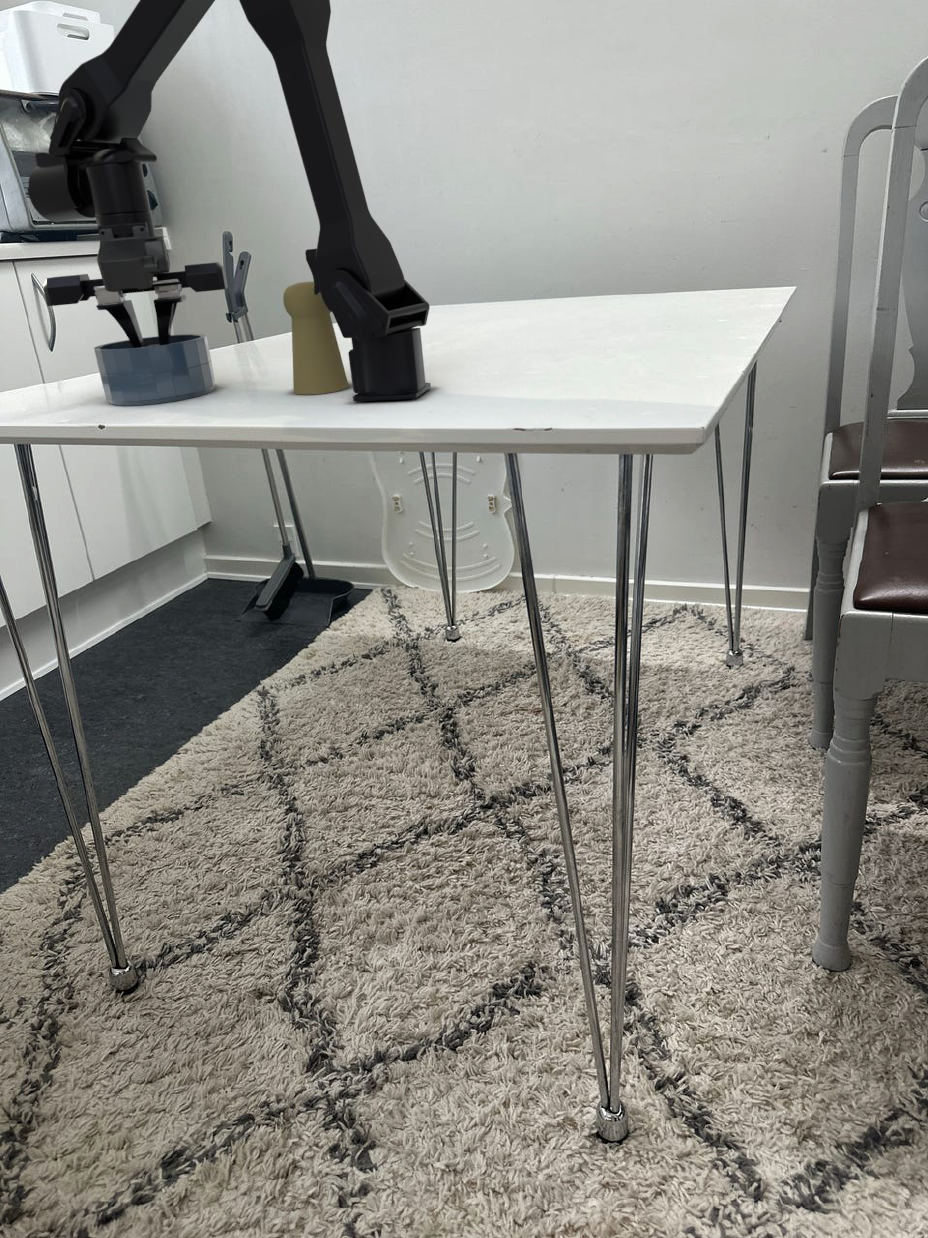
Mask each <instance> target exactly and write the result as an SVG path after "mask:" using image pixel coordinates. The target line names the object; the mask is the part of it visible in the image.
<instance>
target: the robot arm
mask: <svg viewBox="0 0 928 1238" xmlns="http://www.w3.org/2000/svg"><path fill="white" fill-rule="evenodd" d="M238 1H239V4H240V6H241V8H242V12H243V13H244V16H245V18H246V21H247V22H248V24H249V25H250V26H251V28H252V29H253V30H254V32H255V34H256V35H257V36H258V37H259V39H260V40H261V42H262V43H263V45H264V46H265V47H266V49H267V51H268V52H269V53H270V55H271V57H272V59H273V62H274V65H275V68H276V71H277V75H278V79H279V82H280V86H281V89H282V93H283V96H284V100H285V104H286V107H287V111H288V115H289V119H290V121H291V125H292V129H293V133H294V137H295V140H296V143H297V147H298V150H299V154H300V157H301V162H302V165H303V169H304V172H305V176H306V179H307V183H308V187H309V190H310V193H311V198H312V201H313V205H314V208H315V211H316V215H317V219H318V223H319V225H318V226H319V231H318V237H317V238H318V239H317V245H316V248H309V249H306V250H305V261H306V263H307V265H308V267H309V270H310V272H311V274H312V279H313V282H314V294H315V295H319V294H321V298H322V300H323V302H324V305H325V306H326V308H327V309H328V310H329V311H330V313H332V315H333V317H334V319H335V322H336V324H337V327H338V329H339V331H340V334H341V336H342V337H343V339H351V347H352V348H351V349H350V350H349V351H348V352H347V353H348V354H347V355H348V361H349V369H350V377H351V385H352V392H353V393H354V394H355V395H353V396H352V401H353V402H372V401H373V402H374V401H394V400H395V401H396V400H414V399H417V398H418V397H420V396H421V395H422V394H424V393H425V392H427V391H428V390H430V388H432V387H431V386H432V384H431V382H426V375H425V373H426V371H425V364H424V363H425V361H424V353H423V343H422V342H423V341H422V332H421V327H425V326H426V325H427V323H428V322H427V321H428V316H429V314H430V313H429V312H430V308H431V307H430V303H429V302H428V301H427V300H426V299H425V298H424V297H423V296H422V295H421V294H420V293H419V292H418V291H417V290H416V289H415V288H414V287H413V286H412V285H411V284H410V283H409V282H408V281H407V280H406V279H405V275H404V273H403V270H402V267H401V265H400V262H399V260H398V258H397V255H396V253H395V250H394V248H393V245H392V244H391V241H390V240H389V238H388V237H387V236H386V234H385V233H384V231H383V230H382V229H381V227H380V226H379V225H378V223H377V222H376V220H375V218H374V217H373V216H372V214H371V212H370V209H369V206H368V202H367V199H366V195H365V194H366V193H365V191H364V188H363V182H362V179H361V175H360V171H359V167H358V164H357V161H356V155H355V152H354V149H353V144H352V141H351V137H350V134H349V130H348V126H347V122H346V118H345V115H344V110H343V106H342V103H341V99H340V95H339V92H338V86H337V83H336V79H335V77H334V72H333V68H332V64H331V60H330V57H329V52H328V46H327V41H328V34H329V28H330V20H331V15H332V14H331V13H332V8H331V0H238ZM215 2H216V0H139V1H138V2H137V4H136V5H135V7H134V8H133V10H132V11H131V12H130V15H129V16H128V18H127V19H126V21H125V22H124V24H123V25H122V26H121V28H120V30H119V31H118V33H117V34H116V36H115V37H114V39H113V41H112V42H111V44H110V45H109V46H108V47H107V48H106V49H105V50H104V51H103V52H102V53H101V54H98V55H96V56H94V57H93V58H90V59H89V60H86V61H84V62H83V63H80V65H79V66H78V67H77V68H76V69H75V70H74V71H73V72H71V74H70V75H68V76H67V77H66V79H65V80H64V81H63V82H62V83H61V86H60V89H59V91H58V96H57V100H58V104H57V109H56V114H55V119H54V123H53V128H52V131H51V134H50V137H49V139H50V142H49V147H48V152H37V153H35V154H34V158H35V162H36V166H35V167H34V168H33V169H32V170H31V172H30V174H29V177H28V186H27V194H28V197H29V200H30V202H31V205H32V206H33V208H34V209H35V210H36V212H37V213H38V214H39V216H41V217H42V218H44V219H46V220H47V221H48V222H54V223H60V222H69V221H76V220H85V219H94V218H95V221H96V224H97V225H96V226H97V230H98V236H99V248H98V252H97V257H96V262H97V266H98V269H99V272H100V273H99V274H100V276H101V278H94V279H91V278H90V275H89V274H88V273H83V274H73V275H62V276H53V277H47V278H46V279H45V280H44V282H43V293H44V297H45V302H46V304H47V307H56V306H65V305H76V304H77V305H78V304H79V303H80V302H86V301H89V299H90V298H93V297H94V298H95V300H96V302H97V305H96V306H95V308H96V309H97V310H98V311H107V312H108V313H109V314H110V315H111V317H112V318H113V319H114V320H115V321H116V323H117V324H118V325H119V326H120V328H121V329H122V330H123V332H124V333H125V335H126V337H127V340H130V342H131V344H132V346H133V347H134V348H138V347H145V344H144V341H143V338H144V337H143V335H142V331H141V328H140V325H139V321H138V318H137V315H136V312H135V309H134V304H133V301H132V299H128V300H127V299H126V296H127V294H136V293H146V292H154V293H155V294H156V295H157V298H155V299H153V300H152V302H153V306H154V311H155V315H156V326H157V336H158V337H159V345H165V344H170V336H171V335H172V327H173V322H174V319H175V315H176V310H177V305H178V304H179V303H183V302H184V301H186V300H187V295H186V294H184V291H185V289H186V288H190V289H192V291H194V292H195V293H202V292H213V291H222V290H227V289H228V288H229V284H228V280H227V273H226V269H225V266H224V265H223V264H221V263H220V262H219V261H213V262H203V263H192V264H185V265H184V270H180V271H171V270H170V268H171V263H170V257H169V256H170V255H169V252H168V249H167V245H166V241H165V238H164V236H163V235H159V236H157V235H156V229H155V223H154V219H153V214H152V210H151V209H152V208H151V206H150V200H149V195H148V191H147V185H146V180H145V176H144V171H143V166H142V165H146V164H147V165H148V164H153V163H157V161H158V157H157V154H155V153H154V152H152V150H150V149H149V148H147V147H146V146H144V144H142V142H141V141H140V140H139V136H140V135H141V133H142V131H143V129H144V127H145V124H146V123H147V121H148V118H149V117H150V114H151V112H152V107H153V104H152V103H153V95H152V94H153V90H154V89H155V86H156V84H157V82H158V81H159V80H160V78H161V76H162V75H163V74H164V72H165V71H166V69H167V68H168V67H169V65H170V64H171V63H172V61H173V60H174V58H175V57H176V56H177V54H178V53H179V52H180V50H181V49H182V47H183V46H184V44H185V43H186V42H187V40H188V39H189V37H190V36H191V35H192V34H193V32H194V30H195V29H196V28H197V26H198V25H199V23H200V22H201V21H202V19H204V17H205V15H206V13H208V11H209V10H210V8H211V7H212V5H213V4H214V3H215ZM154 278H156V279H154Z"/></svg>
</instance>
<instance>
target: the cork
mask: <svg viewBox="0 0 928 1238" xmlns="http://www.w3.org/2000/svg"><path fill="white" fill-rule="evenodd" d="M282 298H283V306H284V309H285V311H286V313H287V314H288V315H289V316H290V317H291V347H292V349H291V350H292V382H293V394H296V395H306V396H308V395H309V396H311V395H322V394H330V393H336V392H339V391H344V390H346V389H348V388H349V387H350V385H349V381H348V377H347V374H346V373H347V372H346V370H345V367H344V363H343V358H342V354H341V350H340V347H339V344H338V340H337V339H338V338H337V335H336V332H335V328H334V324H333V320H332V316H331V312H330V311H329V310H328V309H327V308H326V306H325V305H324V302H323V300H322V298H321V294H319V295H315V294H314V281H304V282H297V283H294V284H291V285H288V286H287V287H286V288H285V289H284V292H283V297H282Z"/></svg>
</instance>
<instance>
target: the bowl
mask: <svg viewBox="0 0 928 1238" xmlns="http://www.w3.org/2000/svg"><path fill="white" fill-rule="evenodd" d="M142 338H143V341H144V344H145V347H138V348H134V347H133V346H132V344H131V342H130V340H129V339H126V340H120V341H114V342H109V343H105V344H100V345H97V346H95V347H93V351H94V356H95V360H96V365H97V368H98V372H99V377H100V380H101V385H102V389H103V394H104V397H105V400H107V401H108V402H109V404H110V405H114V406H123V407H124V406H126V407H127V406H128V407H130V406H145V405H146V406H147V405H158V404H165V403H172V402H178V401H184V400H188V399H194V398H197V397H200V396H204V395H207V394H209V393H211V392H213V391H214V389H215V388H214V387H215V386H216V385H217V383H216V378H215V371H214V367H213V361H212V355H211V352H210V346H209V340H208V336H207V335H206V334H201V333H185V334H183V333H182V334H171V336H170V344H165V345H156V346H149V345H152V344H159V337H158V335H157V336H148V337H142Z"/></svg>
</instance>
